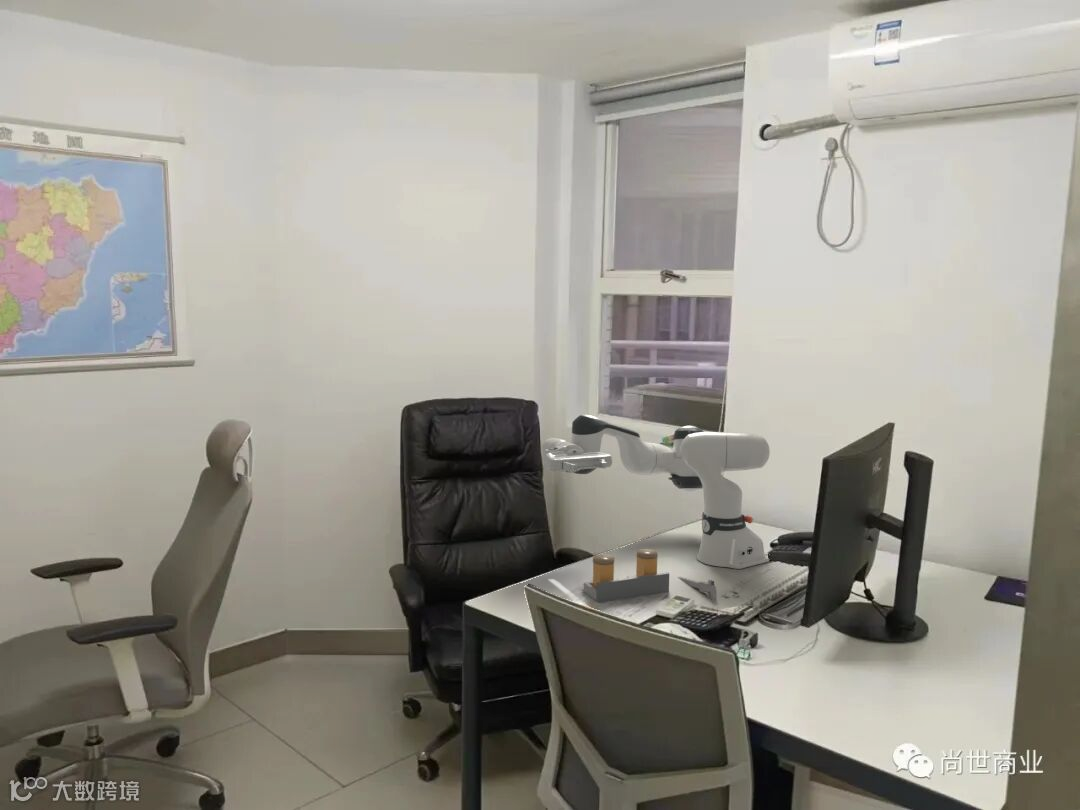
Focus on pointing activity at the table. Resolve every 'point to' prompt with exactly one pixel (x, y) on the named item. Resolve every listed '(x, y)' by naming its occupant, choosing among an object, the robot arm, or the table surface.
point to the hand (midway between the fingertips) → (589, 466)
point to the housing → (628, 587)
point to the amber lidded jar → (603, 568)
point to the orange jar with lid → (646, 562)
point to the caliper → (703, 587)
